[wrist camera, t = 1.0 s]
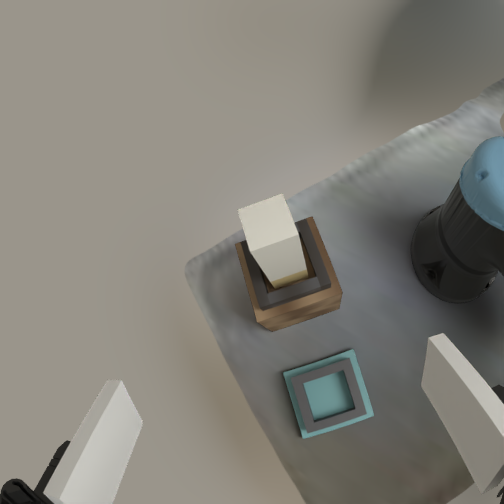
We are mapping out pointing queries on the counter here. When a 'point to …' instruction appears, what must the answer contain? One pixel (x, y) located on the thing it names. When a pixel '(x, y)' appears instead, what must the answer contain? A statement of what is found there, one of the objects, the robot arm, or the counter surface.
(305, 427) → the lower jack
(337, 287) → the wooden planter box
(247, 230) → the plug
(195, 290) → the counter surface
